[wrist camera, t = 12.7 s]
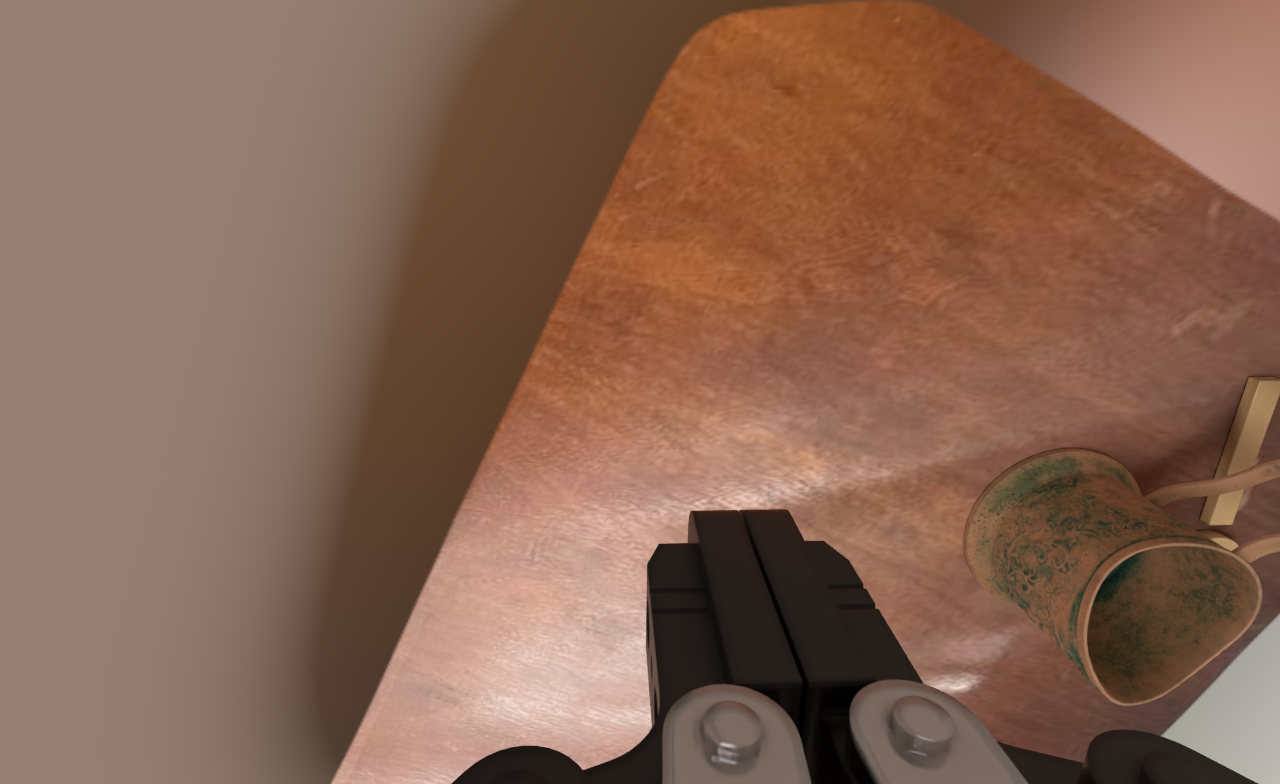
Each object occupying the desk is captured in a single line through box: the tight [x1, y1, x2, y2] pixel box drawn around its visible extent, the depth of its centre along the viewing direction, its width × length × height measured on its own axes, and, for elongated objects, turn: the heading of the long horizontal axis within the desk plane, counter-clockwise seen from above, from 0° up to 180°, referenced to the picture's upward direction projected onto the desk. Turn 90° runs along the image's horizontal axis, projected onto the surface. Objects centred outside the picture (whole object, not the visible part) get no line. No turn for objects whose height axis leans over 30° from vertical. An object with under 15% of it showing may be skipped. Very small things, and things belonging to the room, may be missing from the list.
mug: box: [964, 448, 1280, 706], centre depth 36 cm, size 12×18×12 cm, turn 133°
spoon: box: [1198, 377, 1280, 551], centre depth 41 cm, size 15×4×1 cm, turn 179°
